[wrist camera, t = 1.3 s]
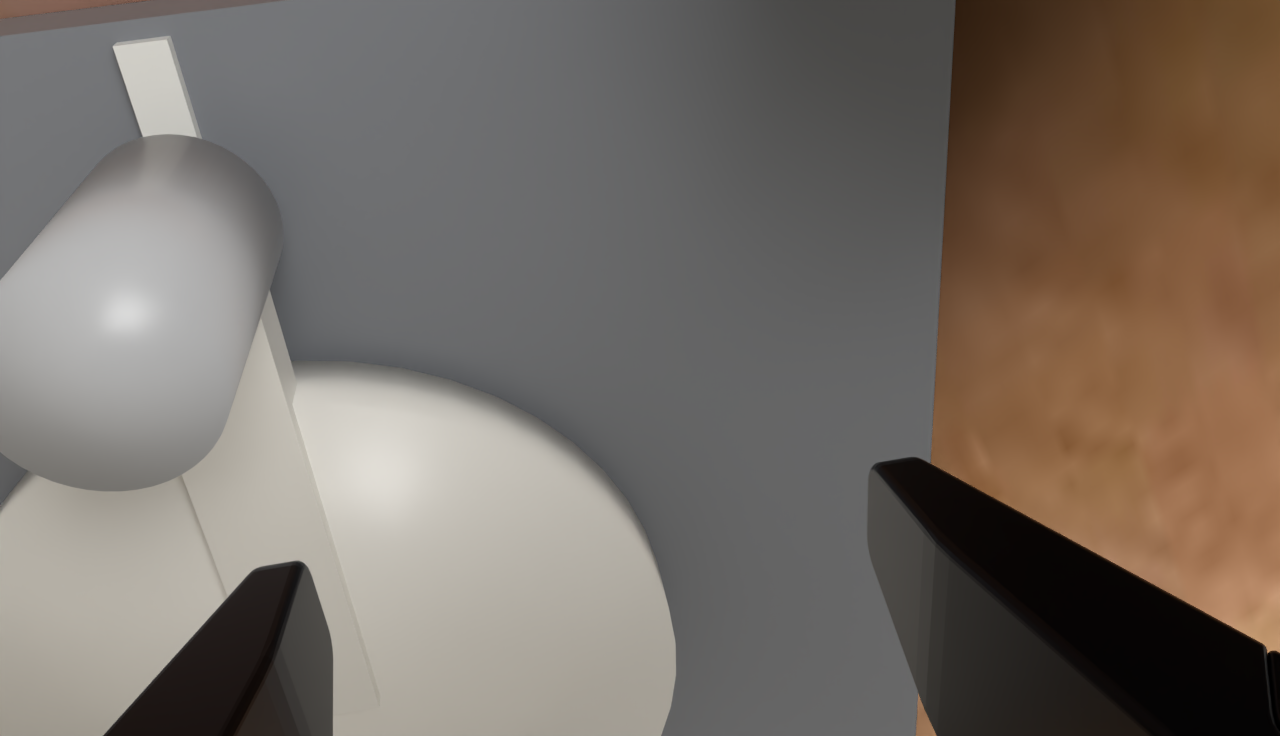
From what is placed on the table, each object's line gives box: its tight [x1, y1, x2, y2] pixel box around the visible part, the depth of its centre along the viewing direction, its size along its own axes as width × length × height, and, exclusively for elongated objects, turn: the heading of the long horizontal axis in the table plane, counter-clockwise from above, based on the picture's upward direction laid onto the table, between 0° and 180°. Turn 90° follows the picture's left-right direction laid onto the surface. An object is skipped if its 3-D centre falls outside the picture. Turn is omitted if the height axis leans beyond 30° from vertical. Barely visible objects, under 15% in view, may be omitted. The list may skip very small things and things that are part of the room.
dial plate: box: [0, 0, 956, 736], centre depth 24 cm, size 26×26×2 cm
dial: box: [0, 134, 676, 736], centre depth 19 cm, size 18×14×6 cm
